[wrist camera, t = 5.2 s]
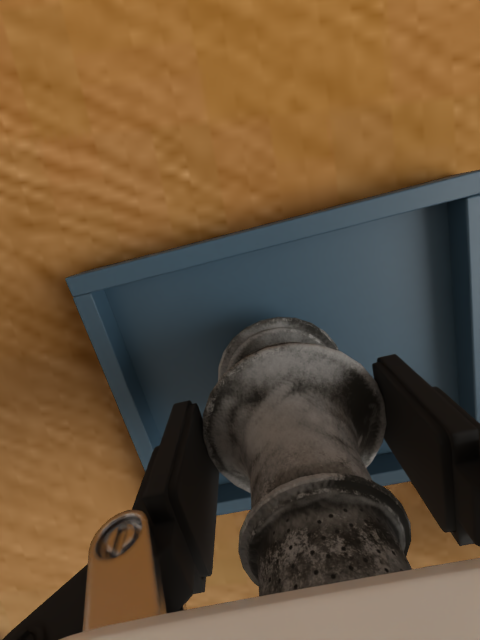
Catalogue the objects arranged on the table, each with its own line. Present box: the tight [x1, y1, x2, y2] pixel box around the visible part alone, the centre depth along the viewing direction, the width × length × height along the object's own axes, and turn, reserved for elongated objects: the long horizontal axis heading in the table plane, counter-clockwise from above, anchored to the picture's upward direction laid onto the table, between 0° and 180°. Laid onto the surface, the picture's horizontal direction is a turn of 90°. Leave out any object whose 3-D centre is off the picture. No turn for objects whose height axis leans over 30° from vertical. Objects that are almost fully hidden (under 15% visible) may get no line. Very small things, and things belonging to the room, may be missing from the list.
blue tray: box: [65, 170, 480, 516], centre depth 15 cm, size 13×16×2 cm
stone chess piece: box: [203, 317, 412, 596], centre depth 8 cm, size 6×6×12 cm
